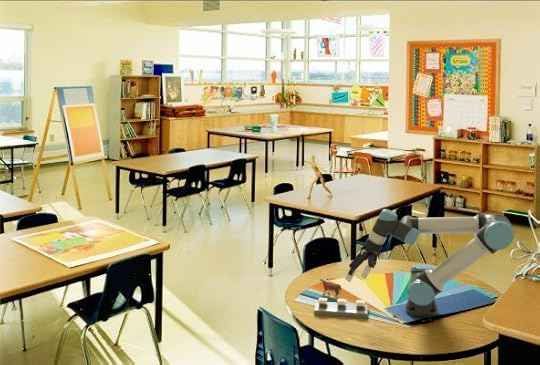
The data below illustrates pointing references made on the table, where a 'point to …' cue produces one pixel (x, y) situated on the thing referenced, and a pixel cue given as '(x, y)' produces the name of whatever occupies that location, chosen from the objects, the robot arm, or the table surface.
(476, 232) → the robot arm
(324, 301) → the switch
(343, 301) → the switch middle
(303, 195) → the table surface
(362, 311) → the switch panel
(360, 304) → the switch
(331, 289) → the bull figurine
